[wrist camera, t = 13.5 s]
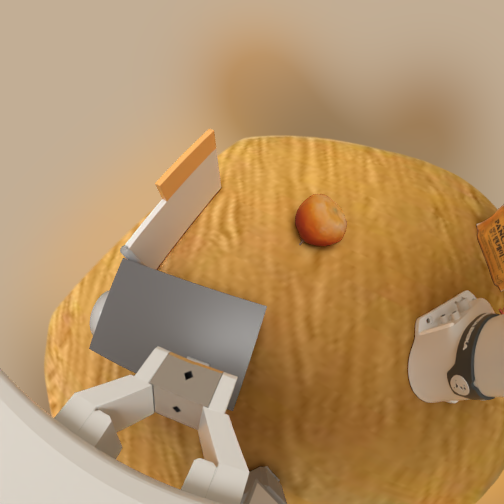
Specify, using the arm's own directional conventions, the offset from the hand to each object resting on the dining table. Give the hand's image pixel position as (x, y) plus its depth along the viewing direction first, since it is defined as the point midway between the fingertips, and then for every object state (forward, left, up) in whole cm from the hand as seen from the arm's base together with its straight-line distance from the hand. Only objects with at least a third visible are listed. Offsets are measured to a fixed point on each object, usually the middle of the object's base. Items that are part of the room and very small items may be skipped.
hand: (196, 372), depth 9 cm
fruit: (-21, -11, -30) cm, 38 cm away
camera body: (+5, -6, -29) cm, 31 cm away
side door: (-2, -21, -29) cm, 36 cm away
